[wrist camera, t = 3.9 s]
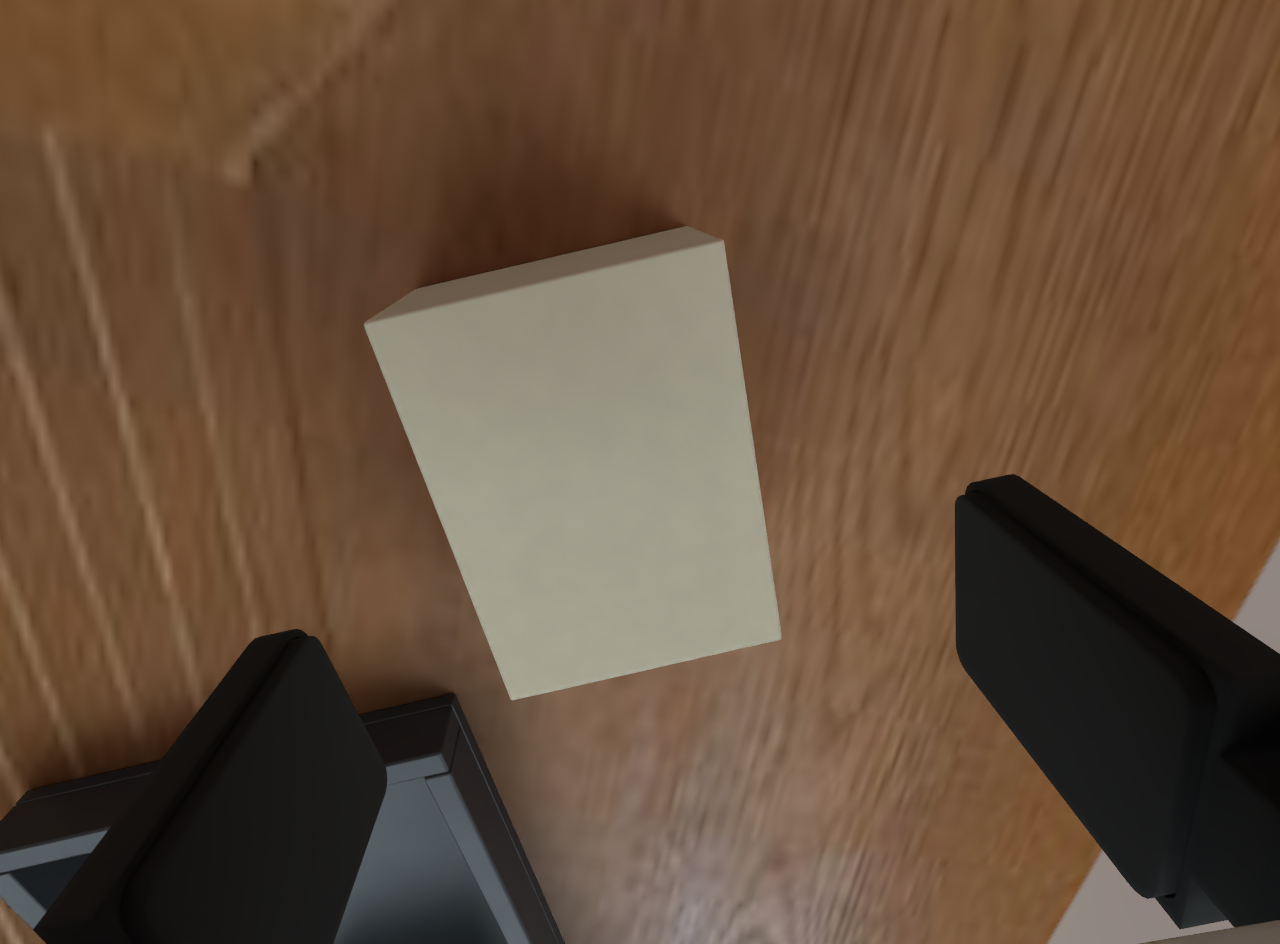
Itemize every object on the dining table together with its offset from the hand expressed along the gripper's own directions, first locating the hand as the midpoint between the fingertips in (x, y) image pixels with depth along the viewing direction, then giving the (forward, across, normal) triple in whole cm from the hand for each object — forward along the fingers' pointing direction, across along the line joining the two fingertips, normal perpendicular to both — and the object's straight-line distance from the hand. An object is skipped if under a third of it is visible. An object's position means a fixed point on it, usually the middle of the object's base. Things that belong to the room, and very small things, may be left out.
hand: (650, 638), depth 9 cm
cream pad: (+8, +1, 0) cm, 8 cm away
